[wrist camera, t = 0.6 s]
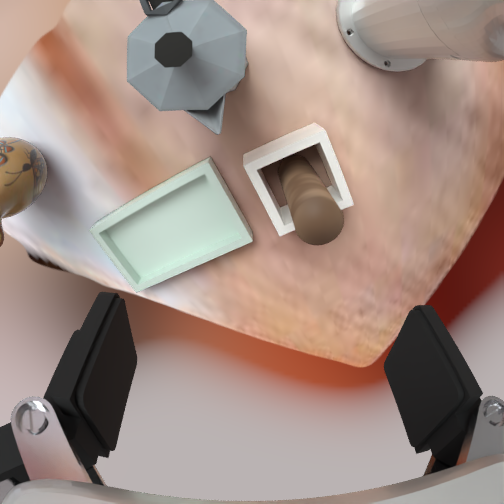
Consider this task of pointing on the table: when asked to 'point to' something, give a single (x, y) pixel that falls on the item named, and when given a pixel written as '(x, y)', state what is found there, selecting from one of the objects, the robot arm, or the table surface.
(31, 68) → the table surface
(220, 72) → the coffee maker
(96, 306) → the robot arm
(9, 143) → the ceramic vessel
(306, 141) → the white square ring
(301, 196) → the dowel
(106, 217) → the tray
